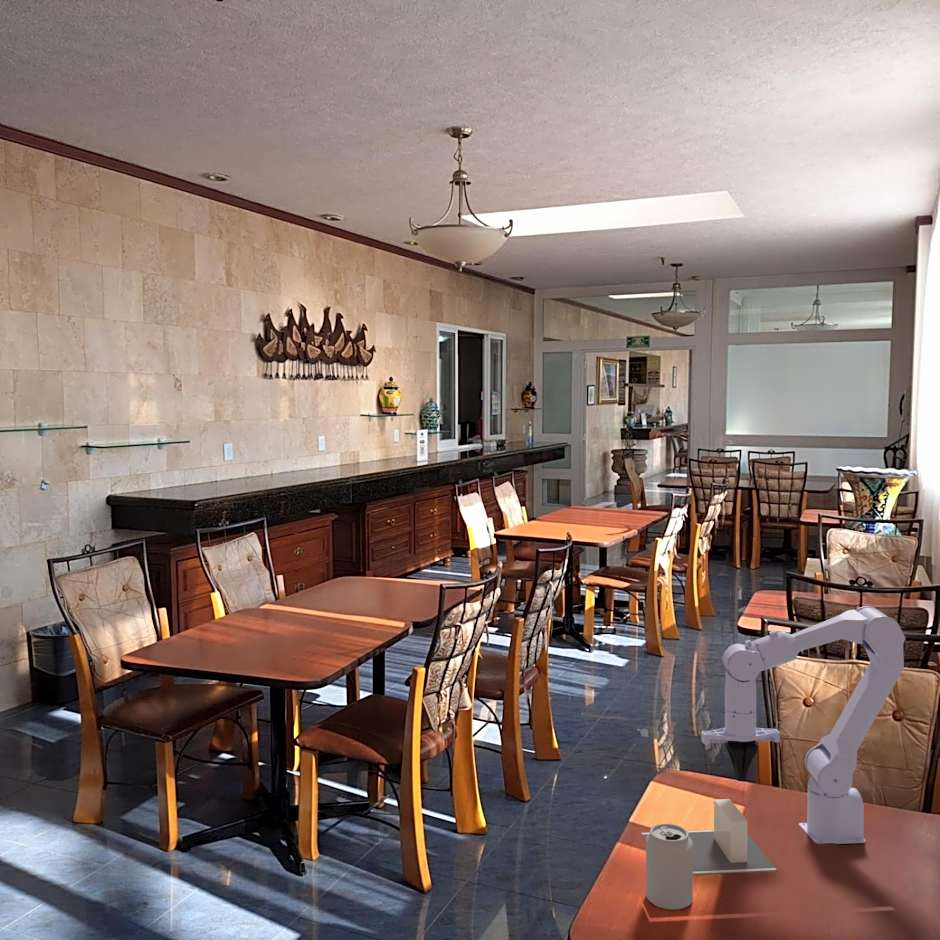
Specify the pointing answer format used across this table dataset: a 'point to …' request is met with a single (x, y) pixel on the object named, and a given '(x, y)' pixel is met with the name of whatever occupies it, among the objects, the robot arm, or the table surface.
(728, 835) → the white rectangular block
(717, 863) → the mat
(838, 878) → the table surface
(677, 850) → the can
